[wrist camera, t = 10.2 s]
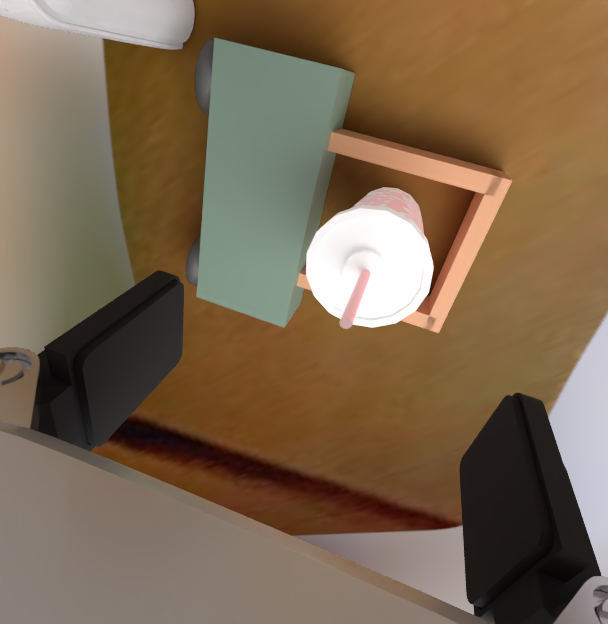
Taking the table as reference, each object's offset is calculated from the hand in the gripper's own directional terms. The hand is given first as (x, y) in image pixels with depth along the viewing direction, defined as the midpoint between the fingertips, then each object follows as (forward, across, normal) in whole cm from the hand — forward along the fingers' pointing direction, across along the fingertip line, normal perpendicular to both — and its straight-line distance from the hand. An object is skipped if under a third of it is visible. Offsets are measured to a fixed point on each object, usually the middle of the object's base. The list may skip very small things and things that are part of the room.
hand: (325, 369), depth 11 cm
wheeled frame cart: (+18, +3, +1) cm, 18 cm away
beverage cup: (+18, 0, +1) cm, 18 cm away
